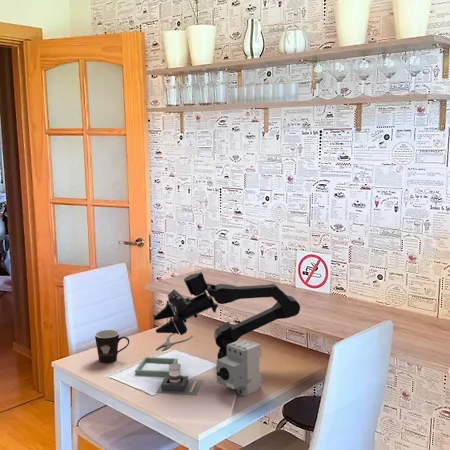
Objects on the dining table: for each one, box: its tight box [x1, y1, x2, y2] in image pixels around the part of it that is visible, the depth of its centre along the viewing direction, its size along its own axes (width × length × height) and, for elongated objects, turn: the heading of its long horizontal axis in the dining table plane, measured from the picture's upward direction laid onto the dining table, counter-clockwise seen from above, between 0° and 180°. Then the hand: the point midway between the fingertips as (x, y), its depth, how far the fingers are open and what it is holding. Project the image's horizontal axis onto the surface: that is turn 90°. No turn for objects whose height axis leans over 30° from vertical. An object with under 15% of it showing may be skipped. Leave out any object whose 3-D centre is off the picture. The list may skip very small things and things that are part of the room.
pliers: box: [155, 333, 194, 352], centre depth 227 cm, size 10×1×20 cm
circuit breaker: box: [215, 338, 262, 397], centre depth 183 cm, size 8×14×15 cm, turn 135°
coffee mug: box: [94, 329, 130, 364], centre depth 209 cm, size 12×9×10 cm
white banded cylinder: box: [168, 362, 182, 384], centre depth 185 cm, size 4×4×7 cm
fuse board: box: [155, 375, 203, 396], centre depth 186 cm, size 13×11×3 cm
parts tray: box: [134, 356, 179, 377], centre depth 200 cm, size 12×12×2 cm
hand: (155, 325), depth 199 cm, fingers open, 9 cm apart
